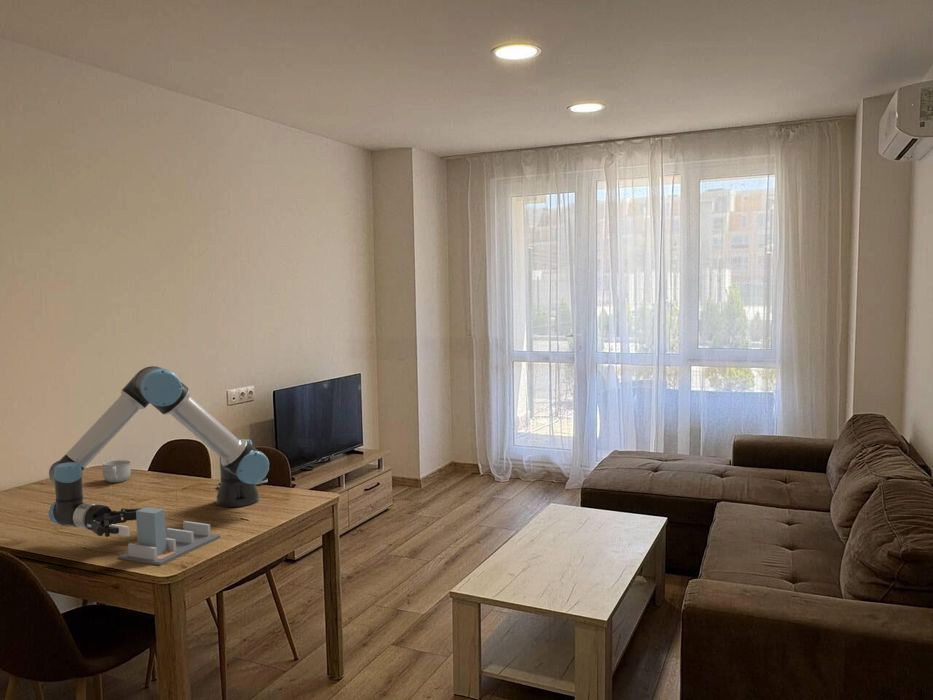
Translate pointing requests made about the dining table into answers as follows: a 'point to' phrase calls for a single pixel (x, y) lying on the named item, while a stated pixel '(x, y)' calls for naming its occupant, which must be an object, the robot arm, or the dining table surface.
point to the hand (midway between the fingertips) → (146, 524)
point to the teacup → (116, 470)
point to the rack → (172, 544)
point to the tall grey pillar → (151, 528)
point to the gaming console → (256, 483)
